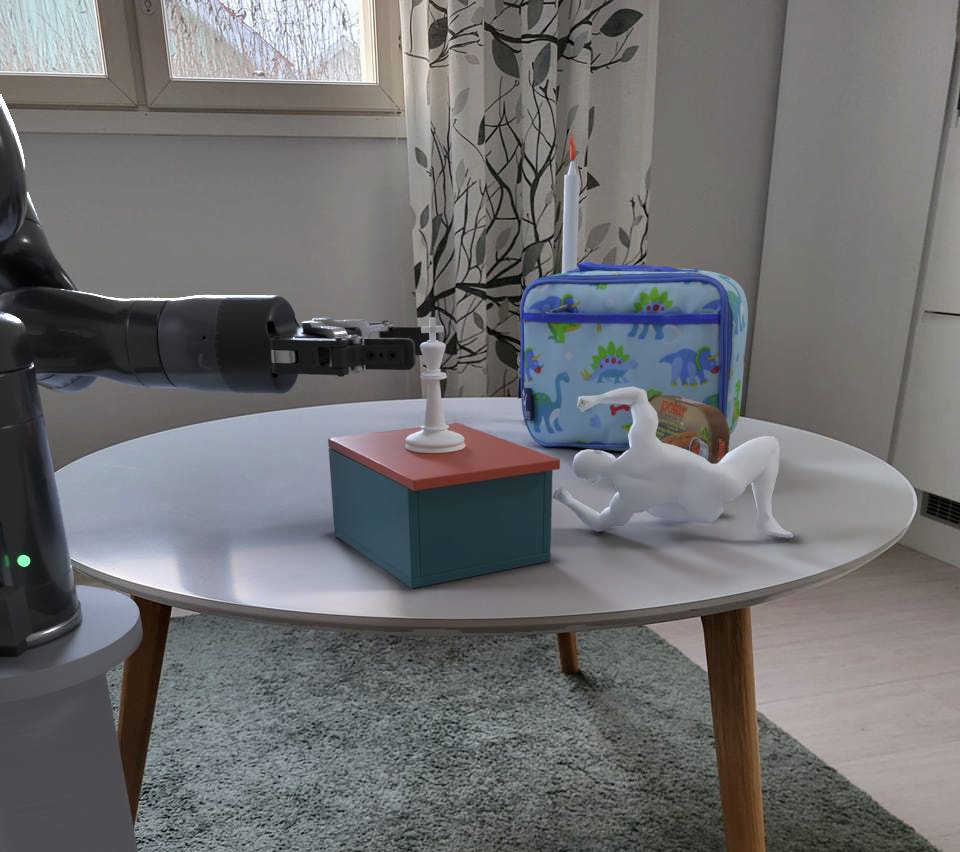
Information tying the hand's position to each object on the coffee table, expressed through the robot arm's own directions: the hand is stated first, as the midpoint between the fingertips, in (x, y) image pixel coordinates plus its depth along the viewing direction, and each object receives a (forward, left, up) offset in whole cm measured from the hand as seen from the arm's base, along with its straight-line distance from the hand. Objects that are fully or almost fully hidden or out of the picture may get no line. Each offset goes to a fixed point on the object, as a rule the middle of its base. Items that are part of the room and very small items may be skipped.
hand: (427, 347), depth 75 cm
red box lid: (0, -1, -9) cm, 9 cm away
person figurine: (+5, -21, -17) cm, 27 cm away
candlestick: (+55, -11, -17) cm, 59 cm away
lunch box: (+40, -18, -17) cm, 47 cm away
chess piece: (0, 0, -8) cm, 8 cm away
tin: (+25, -23, -17) cm, 38 cm away
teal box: (0, 0, -16) cm, 16 cm away
